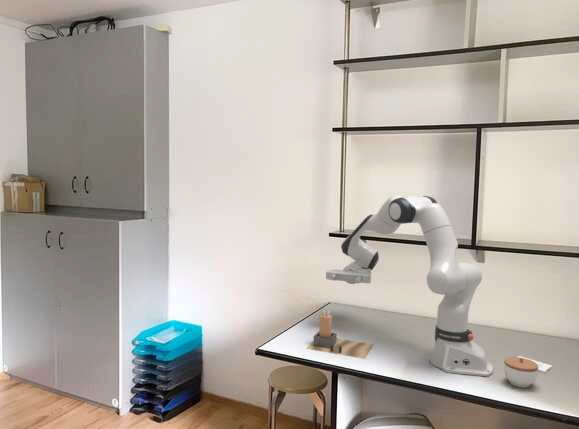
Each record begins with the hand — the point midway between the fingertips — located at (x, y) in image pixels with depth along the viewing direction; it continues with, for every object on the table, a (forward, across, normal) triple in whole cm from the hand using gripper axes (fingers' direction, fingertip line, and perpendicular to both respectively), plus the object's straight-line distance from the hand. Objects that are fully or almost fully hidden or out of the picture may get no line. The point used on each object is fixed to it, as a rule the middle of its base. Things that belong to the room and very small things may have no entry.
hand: (344, 279), depth 210 cm
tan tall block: (+14, -4, +25) cm, 29 cm away
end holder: (+14, -4, +25) cm, 29 cm away
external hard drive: (-2, +75, +28) cm, 80 cm away
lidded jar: (+18, +69, +27) cm, 77 cm away
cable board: (+14, +3, +26) cm, 29 cm away
